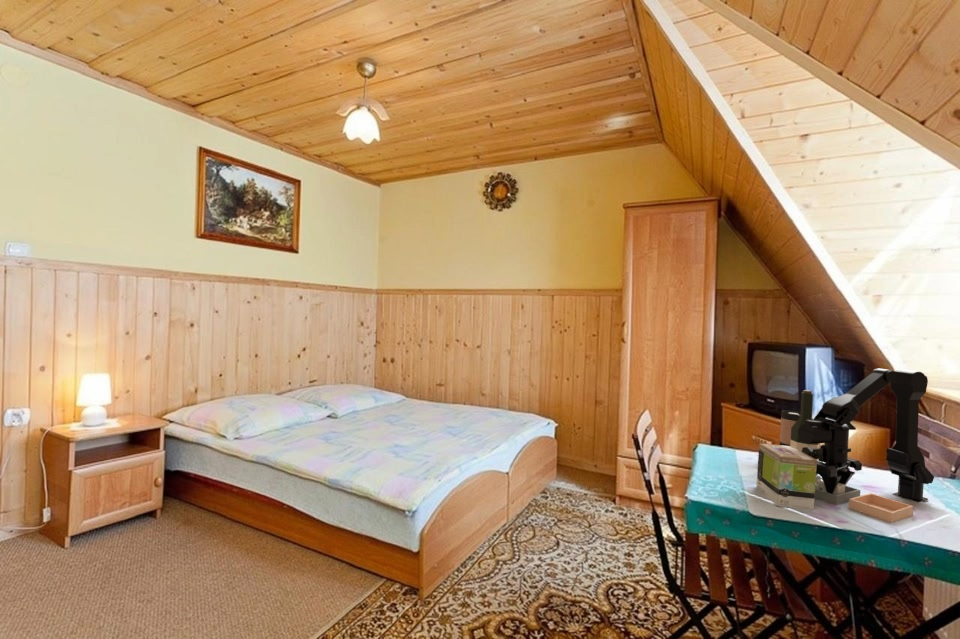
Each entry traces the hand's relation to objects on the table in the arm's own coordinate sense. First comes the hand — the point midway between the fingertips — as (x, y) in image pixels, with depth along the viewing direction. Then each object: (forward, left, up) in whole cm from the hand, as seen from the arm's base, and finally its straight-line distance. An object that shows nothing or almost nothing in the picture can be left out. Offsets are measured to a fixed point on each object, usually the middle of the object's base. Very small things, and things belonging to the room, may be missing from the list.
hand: (833, 494), depth 141 cm
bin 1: (0, -7, -1) cm, 7 cm away
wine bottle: (-11, -14, -1) cm, 18 cm away
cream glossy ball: (-2, -5, -1) cm, 5 cm away
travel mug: (-20, -23, -1) cm, 31 cm away
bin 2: (0, +12, -1) cm, 12 cm away
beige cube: (0, 0, -1) cm, 1 cm away
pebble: (+3, -5, -1) cm, 5 cm away
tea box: (+16, -5, -2) cm, 17 cm away
